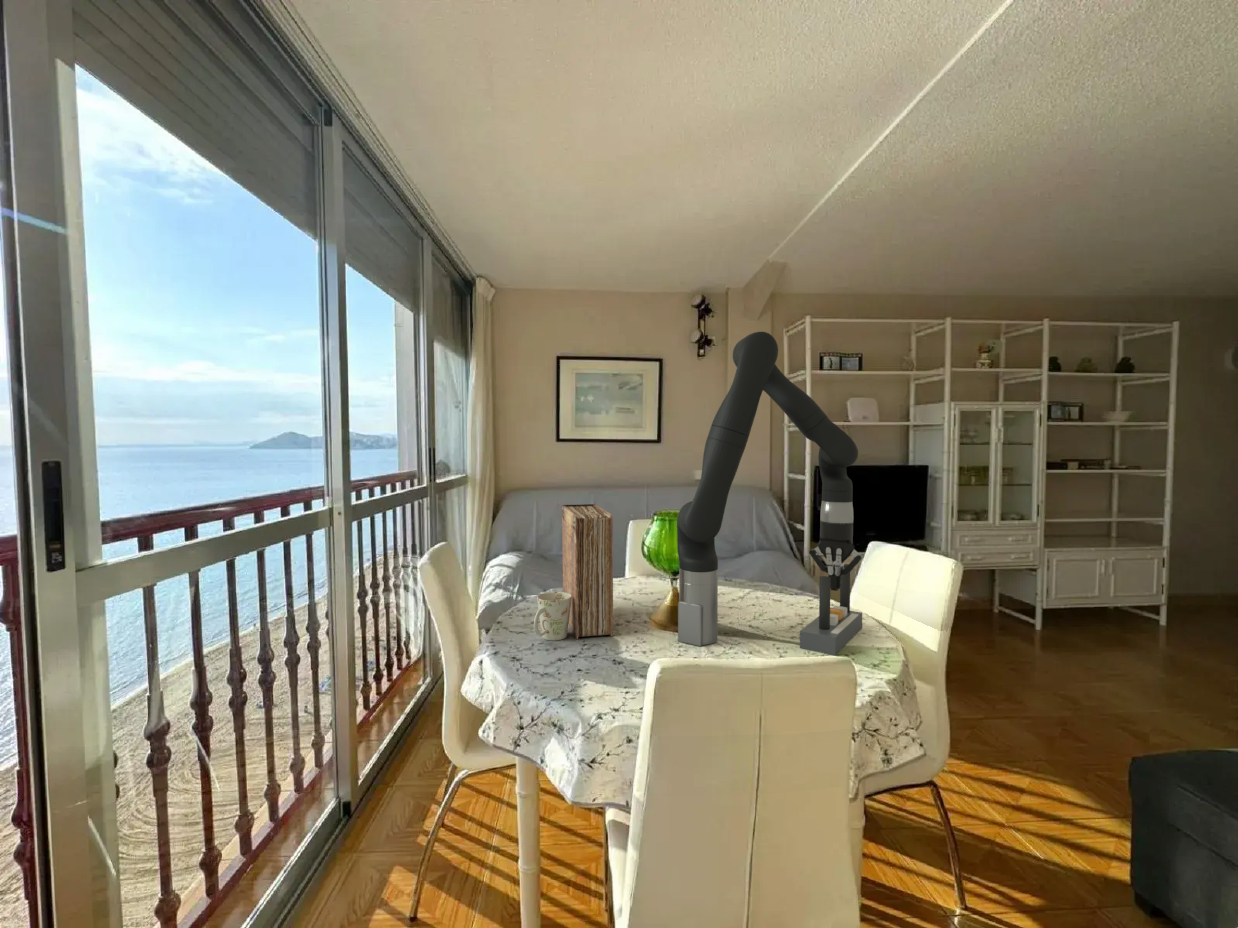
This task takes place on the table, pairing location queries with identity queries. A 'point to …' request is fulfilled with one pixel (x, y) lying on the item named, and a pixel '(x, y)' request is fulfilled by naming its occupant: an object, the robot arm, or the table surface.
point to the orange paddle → (837, 613)
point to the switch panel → (831, 632)
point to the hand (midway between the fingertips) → (835, 589)
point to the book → (588, 568)
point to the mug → (553, 615)
